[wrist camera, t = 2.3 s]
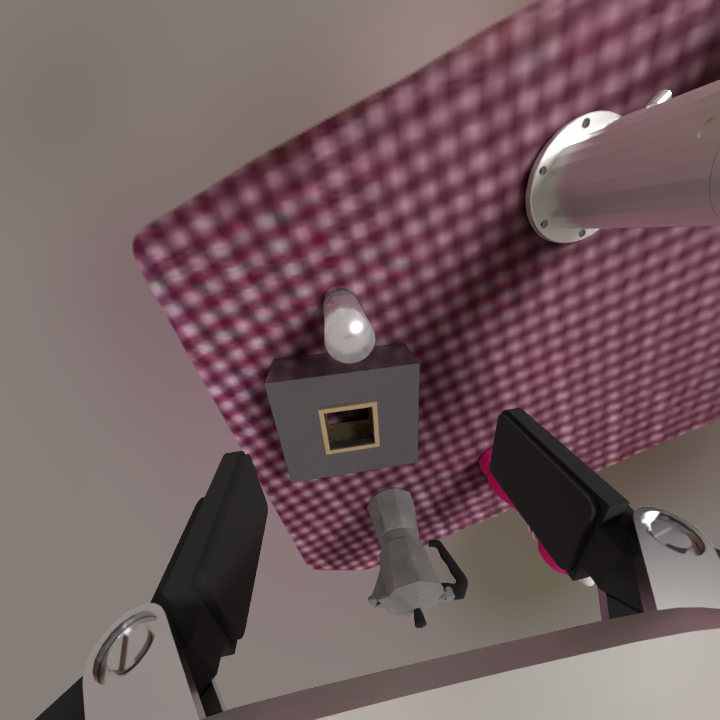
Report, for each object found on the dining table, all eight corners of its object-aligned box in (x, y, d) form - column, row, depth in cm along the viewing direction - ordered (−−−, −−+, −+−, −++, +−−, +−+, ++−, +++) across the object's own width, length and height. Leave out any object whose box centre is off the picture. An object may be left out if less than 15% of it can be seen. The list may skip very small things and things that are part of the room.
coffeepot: (355, 522, 52) (369, 650, 36) (357, 489, 48) (375, 616, 32) (429, 516, 55) (474, 634, 38) (437, 483, 51) (492, 600, 34)
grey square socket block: (404, 343, 37) (420, 364, 31) (404, 432, 44) (418, 463, 38) (273, 359, 36) (263, 385, 30) (295, 448, 43) (291, 484, 36)
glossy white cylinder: (336, 275, 32) (346, 302, 20) (363, 298, 34) (388, 335, 21) (315, 303, 33) (311, 345, 21) (342, 323, 35) (353, 374, 22)
